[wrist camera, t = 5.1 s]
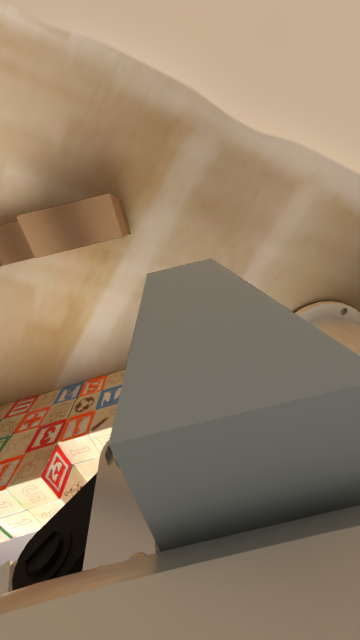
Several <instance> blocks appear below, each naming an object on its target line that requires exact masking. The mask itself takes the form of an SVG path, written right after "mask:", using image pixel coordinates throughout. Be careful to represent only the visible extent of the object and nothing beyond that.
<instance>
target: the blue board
mask: <svg viewBox="0 0 360 640" xmlns="http://www.w3.org/2000/svg"><path fill="white" fill-rule="evenodd" d="M109 446H110V449H111V451H112V453H113V455H114V457H115V459H116V461H117V463H118V465H119V467H120V469H121V471H122V473H123V475H124V477H125V479H126V482H127V484H128V486H129V488H130V490H131V492H132V494H133V496H134V498H135V500H136V502H137V504H138V506H139V508H140V510H141V512H142V515H143V517H144V519H145V521H146V523H147V525H148V527H149V529H150V531H151V533H152V535H153V537H154V539H155V541H156V543H157V545H158V547H159V550H160V552H163V551H167V550H171V549H175V548H179V547H183V546H188V545H192V544H196V543H200V542H204V541H208V540H213V539H217V538H221V537H225V536H230V535H234V534H238V533H242V532H247V531H251V530H255V529H259V528H264V527H268V526H272V525H276V524H281V523H285V522H289V521H294V520H298V519H302V518H307V517H311V516H315V515H319V514H324V513H328V512H332V511H337V510H341V509H345V508H350V507H354V506H359V505H360V356H359V355H358V354H356V353H355V352H353V351H351V350H350V349H348V348H347V347H345V346H344V345H342V344H341V343H339V342H338V341H336V340H335V339H333V338H332V337H330V336H329V335H327V334H326V333H324V332H322V331H321V330H319V329H318V328H316V327H315V326H313V325H312V324H310V323H309V322H307V321H306V320H304V319H303V318H301V317H300V316H298V315H297V314H295V313H293V312H292V311H290V310H289V309H287V308H286V307H284V306H283V305H281V304H280V303H278V302H277V301H275V300H274V299H272V298H271V297H269V296H268V295H266V294H265V293H263V292H261V291H260V290H258V289H257V288H255V287H254V286H252V285H251V284H249V283H248V282H246V281H245V280H243V279H242V278H240V277H239V276H237V275H236V274H234V273H232V272H231V271H229V270H228V269H226V268H225V267H223V266H222V265H220V264H219V263H217V262H216V261H214V260H213V259H207V260H203V261H199V262H195V263H190V264H186V265H182V266H178V267H174V268H170V269H166V270H161V271H157V272H153V273H149V274H147V277H146V282H145V286H144V290H143V295H142V299H141V304H140V308H139V312H138V317H137V321H136V325H135V330H134V334H133V339H132V343H131V347H130V352H129V356H128V361H127V365H126V369H125V374H124V378H123V383H122V387H121V391H120V396H119V400H118V405H117V409H116V413H115V418H114V422H113V426H112V431H111V435H110V440H109Z"/></svg>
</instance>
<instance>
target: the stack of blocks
mask: <svg viewBox="0 0 360 640" xmlns="http://www.w3.org/2000/svg"><path fill="white" fill-rule="evenodd" d="M124 374H125V370H122V371H118V372H115V373H112V374H109V375H105V376H101V377H98V378H94V379H91V380H87V381H85V382H82V383H79V384H75V385H72V386H68V387H65V388H63V389H59V390H55V391H52V392H49V393H45V394H42V395H37V396H33V397H30V398H26V399H23V400H19V401H16V402H12V403H8V404H5V405H1V406H0V543H1V542H4V541H7V540H10V539H11V538H12V537H19V536H22V535H25V534H29V533H32V532H35V531H39V530H40V529H41V528H42V527H43V526H44V525H45V524H46V523H47V522H48V521H49V520H50V519H51V518H52V517H53V516H54V515H55V514H56V513H57V512H58V511H59V510H60V509H61V508H62V507H63V506H64V505H65V504H66V503H67V502H68V501H69V500H70V499H71V498H72V497H73V496H74V495H75V494H76V493H77V492H78V491H79V490H80V489H81V488H82V487H83V486H84V485H85V484H86V483H87V482H88V481H89V480H90V479H91V478H92V477H93V476H94V475H95V474H96V473H97V471H98V465H99V458H100V454H101V451H102V449H103V447H104V445H105V444H106V442H107V441H108V440H109V439H110V435H111V431H112V426H113V422H114V418H115V413H116V409H117V405H118V400H119V396H120V391H121V387H122V383H123V378H124Z"/></svg>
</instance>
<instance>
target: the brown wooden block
mask: <svg viewBox="0 0 360 640" xmlns="http://www.w3.org/2000/svg"><path fill="white" fill-rule="evenodd" d="M16 217H17V219H18V221H17V222H13V223H9V224H5V225H1V226H0V266H2V265H6V264H10V263H15V262H19V261H23V260H27V259H31V258H38V257H43V256H47V255H51V254H55V253H59V252H63V251H67V250H71V249H75V248H80V247H84V246H88V245H92V244H96V243H100V242H104V241H108V240H112V239H117V238H121V237H124V236H126V235H129V234H130V230H129V227H128V223H127V220H126V216H125V213H124V209H123V206H122V202H121V200H119V199H118V198H116V197H115V196H113V195H111V194H110V193H108V194H104V195H100V196H96V197H92V198H88V199H84V200H80V201H75V202H71V203H67V204H63V205H59V206H55V207H51V208H47V209H43V210H38V211H34V212H30V213H26V214H22V215H18V216H16Z"/></svg>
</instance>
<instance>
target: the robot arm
mask: <svg viewBox="0 0 360 640" xmlns="http://www.w3.org/2000/svg"><path fill="white" fill-rule="evenodd" d="M295 314H297V315H298V316H300V317H301V318H303V319H304V320H306V321H307V322H309V323H310V324H312V325H313V326H315V327H316V328H318V329H319V330H321V331H322V332H324V333H326V334H327V335H329V336H330V337H332V338H333V339H335V340H336V341H338V342H339V343H341V344H342V345H344V346H345V347H347V348H348V349H350V350H351V351H353V352H355V353H356V354H358V355H359V356H360V313H359V312H358V311H357V310H356V309H354V308H352V307H351V306H349V305H346V304H343V303H341V302H335V301H323V302H318V303H314V304H311V305H308V306H306V307H303V308H301V309H300V310H298V311H297V312H295ZM109 440H110V439H109ZM109 440H108V441H107V442H106V444H105V445H104V447H103V449H102V451H101V454H100V458H99V465H98V471H97V473H96V474H95V475H94V476H93V477H92V478H91V479H90V480H89V481H88V482H87V483H86V484H85V485H84V486H83V487H82V488H81V489H80V490H79V491H78V492H77V493H76V494H75V495H74V496H73V497H72V498H71V499H70V500H69V501H68V502H67V503H66V504H65V505H64V506H63V507H62V508H61V509H60V510H59V511H58V512H57V513H56V514H55V515H54V516H53V517H52V518H51V519H50V520H49V521H48V522H47V523H46V524H45V525H44V526H43V527H42V528H41V529H40V530H39V531H38V532H37V533H36V534H35V535H34V536H33V538H32V539H31V540H30V541H29V542H28V543H27V545H26V546H25V548H24V550H23V551H22V553H21V555H20V556H19V558H18V560H17V561H15V562H14V563H13V562H12V561H11V560H9V561H7V562H6V563H5V564H3V565H2V566H1V567H0V640H360V505H359V506H354V507H350V508H345V509H341V510H337V511H332V512H328V513H324V514H319V515H315V516H311V517H307V518H302V519H298V520H294V521H289V522H285V523H281V524H276V525H272V526H268V527H264V528H259V529H255V530H251V531H247V532H242V533H238V534H234V535H230V536H225V537H221V538H217V539H213V540H208V541H204V542H200V543H196V544H192V545H188V546H183V547H179V548H175V549H171V550H167V551H163V552H160V550H159V547H158V545H157V543H156V541H155V539H154V537H153V535H152V533H151V531H150V529H149V527H148V525H147V523H146V521H145V519H144V517H143V515H142V512H141V510H140V508H139V506H138V504H137V502H136V500H135V498H134V496H133V494H132V492H131V490H130V488H129V486H128V484H127V482H126V479H125V477H124V475H123V473H122V471H121V469H120V467H119V465H118V463H117V461H116V459H115V457H114V455H113V453H112V451H111V449H110V446H109Z"/></svg>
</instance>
